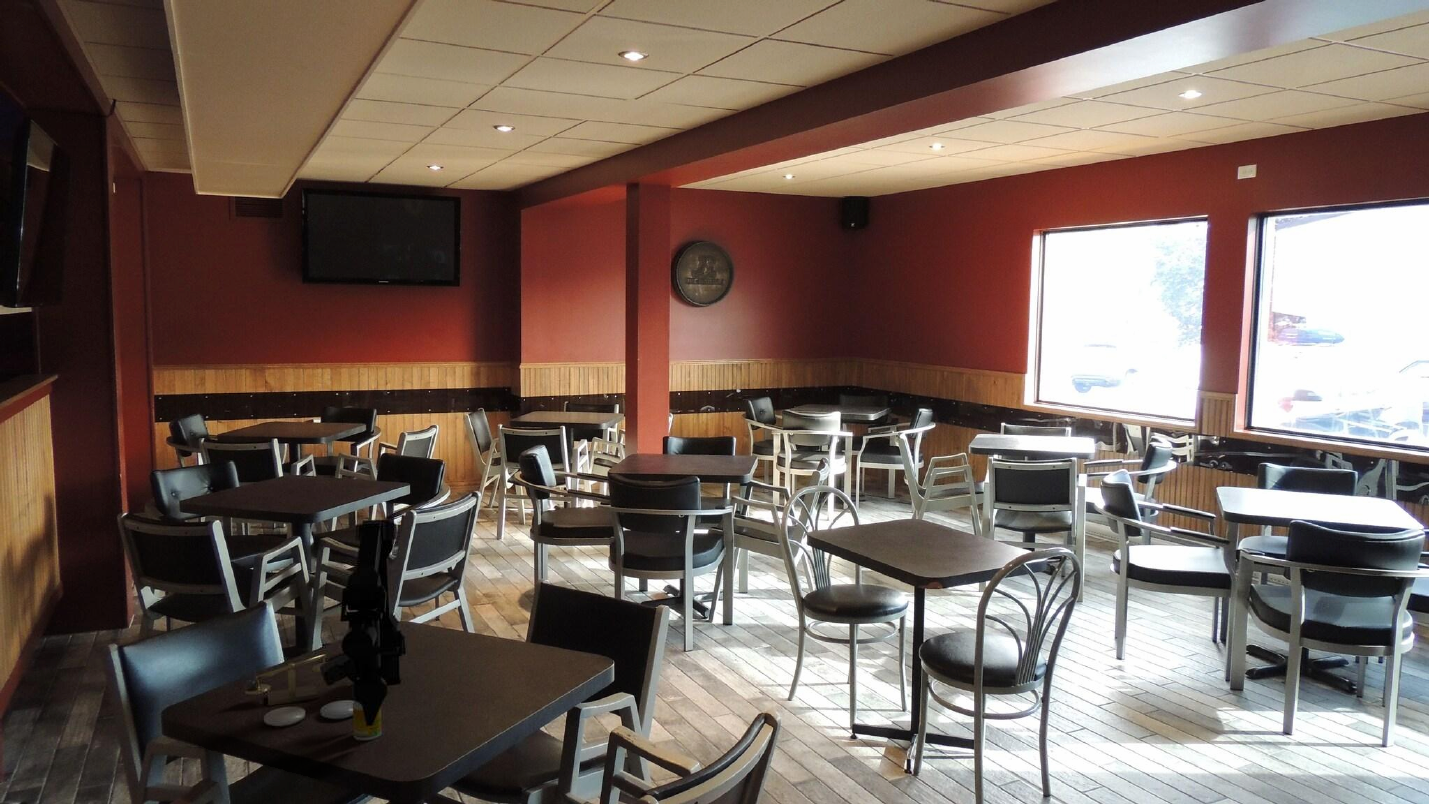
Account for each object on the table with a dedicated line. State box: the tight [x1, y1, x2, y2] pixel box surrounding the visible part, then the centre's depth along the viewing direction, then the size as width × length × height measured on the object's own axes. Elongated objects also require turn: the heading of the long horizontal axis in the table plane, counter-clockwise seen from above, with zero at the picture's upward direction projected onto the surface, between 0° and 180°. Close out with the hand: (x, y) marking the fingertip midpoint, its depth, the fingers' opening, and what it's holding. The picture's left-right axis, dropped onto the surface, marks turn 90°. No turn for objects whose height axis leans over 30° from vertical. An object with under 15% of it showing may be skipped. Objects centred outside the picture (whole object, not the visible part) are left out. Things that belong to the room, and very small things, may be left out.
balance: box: [244, 653, 327, 706], centre depth 225 cm, size 19×6×9 cm, turn 115°
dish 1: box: [263, 706, 306, 727], centre depth 213 cm, size 8×8×1 cm
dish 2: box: [320, 699, 355, 720], centre depth 216 cm, size 8×8×1 cm
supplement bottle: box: [352, 700, 382, 741], centre depth 205 cm, size 5×5×10 cm
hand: (367, 717), depth 205 cm, fingers open, 9 cm apart
